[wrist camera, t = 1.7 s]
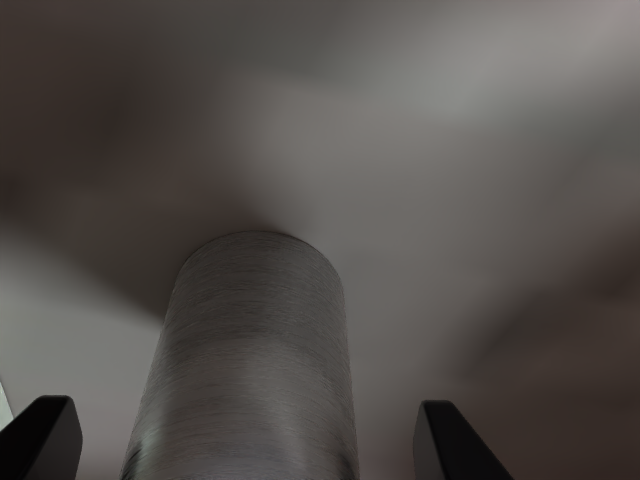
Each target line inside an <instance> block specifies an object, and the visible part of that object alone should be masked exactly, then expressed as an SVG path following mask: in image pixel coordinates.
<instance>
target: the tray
mask: <svg viewBox="0 0 640 480" xmlns="http://www.w3.org/2000/svg"><path fill="white" fill-rule="evenodd" d="M12 420H13V416H12V413H11V410H10V408H9V405H8V402H7V399H6V396H5V394H4V391H3V388H2V385H1V382H0V431H1V430H2V429H3V428H4V427H5V426H6V425H8V424H9V423H10V422H11V421H12Z"/></svg>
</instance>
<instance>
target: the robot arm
mask: <svg viewBox="0 0 640 480" xmlns="http://www.w3.org/2000/svg"><path fill="white" fill-rule="evenodd" d="M82 443H83V437H82V431H81V427H80V423H79V419H78V416H77V412H76V408H75V404H74V402H73V399H72V398H71V397H69V396H66V395H43V396H40V397H38V398H37V399H35V400H34V401H33V402H32V403H31V404H30V405H28V406H27V407H26V408H25V409H24V410H23V411H22V412H21V413H20V414H19V415H17V416H16V417H15V418H14V419H13V420H12V421H11V422H10V423H9V424H8V425H6V426H5V427H4V428H3V429H2V430H1V431H0V480H75V477H76V473H77V469H78V464H79V460H80V455H81V451H82ZM413 456H414V466H415V476H416V480H514V479H513V477H512V476H511V475H510V474H509V472H508V471H507V470H506V469H505V468H504V466H503V465H502V464H501V463H500V461H499V460H498V459H497V458H496V456H495V455H494V454H493V453H492V451H491V450H490V449H489V448H488V446H487V445H486V444H485V443H484V441H483V440H482V439H481V438H480V437H479V435H478V434H477V433H476V432H475V430H474V429H473V428H472V427H471V425H470V424H469V423H468V422H467V420H466V419H465V418H464V417H463V415H462V414H461V413H460V412H459V410H458V409H457V408H456V407H455V406H454V404H453V403H451V402H450V401H447V400H424V401H422V403H421V405H420V407H419V412H418V417H417V422H416V427H415V432H414V437H413Z"/></svg>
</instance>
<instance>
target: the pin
mask: <svg viewBox="0 0 640 480" xmlns="http://www.w3.org/2000/svg"><path fill="white" fill-rule="evenodd" d="M119 480H360V474H359V462H358V451H357V439H356V428H355V416H354V405H353V393H352V382H351V371H350V359H349V348H348V336H347V325H346V313H345V302H344V293H343V287H342V284H341V281H340V278H339V276H338V274H337V272H336V271H335V269H334V268H333V266H332V265H331V264H330V262H329V261H328V260H327V259H326V258H325V257H324V256H323V255H322V254H321V253H319V252H318V251H317V250H315V249H314V248H313V247H311V246H309V245H307V244H306V243H304V242H302V241H299V240H297V239H295V238H292V237H289V236H286V235H283V234H278V233H272V232H262V231H249V232H240V233H234V234H230V235H226V236H223V237H220V238H218V239H215V240H213V241H211V242H209V243H207V244H205V245H203V246H202V247H201V248H199V249H198V250H197V251H195V252H194V253H193V254H192V255H191V256H190V257H189V258H188V259H187V261H186V262H185V263H184V265H183V266H182V268H181V270H180V272H179V273H178V276H177V279H176V282H175V285H174V289H173V292H172V296H171V299H170V303H169V306H168V310H167V313H166V317H165V320H164V324H163V327H162V331H161V334H160V337H159V341H158V344H157V348H156V351H155V355H154V358H153V362H152V365H151V369H150V372H149V376H148V379H147V383H146V386H145V390H144V393H143V397H142V400H141V403H140V407H139V410H138V414H137V417H136V421H135V424H134V428H133V431H132V435H131V438H130V442H129V445H128V449H127V452H126V456H125V459H124V463H123V466H122V469H121V473H120V476H119Z"/></svg>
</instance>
